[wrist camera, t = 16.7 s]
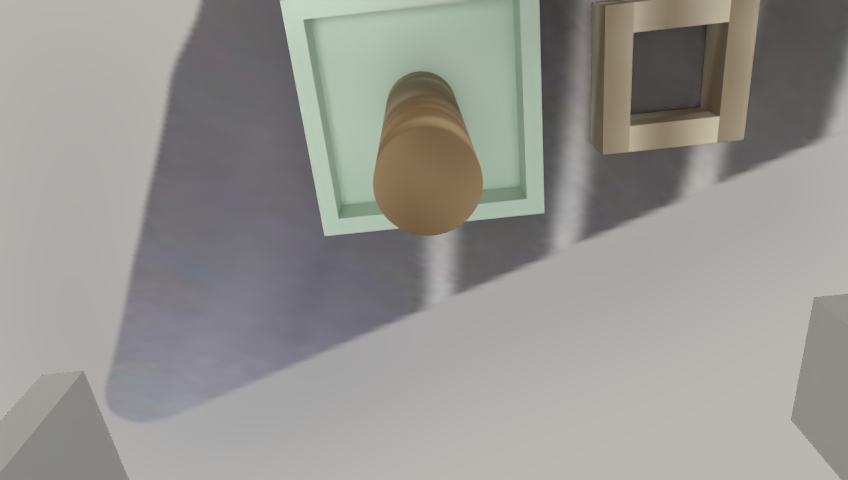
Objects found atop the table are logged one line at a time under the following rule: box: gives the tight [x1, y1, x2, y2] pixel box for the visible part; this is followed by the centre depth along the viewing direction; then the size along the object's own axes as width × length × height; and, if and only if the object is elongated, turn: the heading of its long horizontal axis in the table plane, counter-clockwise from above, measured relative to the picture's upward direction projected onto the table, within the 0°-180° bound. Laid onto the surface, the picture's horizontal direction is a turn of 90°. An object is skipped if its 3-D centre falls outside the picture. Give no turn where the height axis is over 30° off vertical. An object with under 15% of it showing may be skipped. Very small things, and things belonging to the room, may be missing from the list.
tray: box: [280, 0, 544, 236], centre depth 34 cm, size 13×13×3 cm
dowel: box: [373, 71, 483, 236], centre depth 28 cm, size 4×4×14 cm
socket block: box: [591, 0, 760, 155], centre depth 34 cm, size 8×8×2 cm
